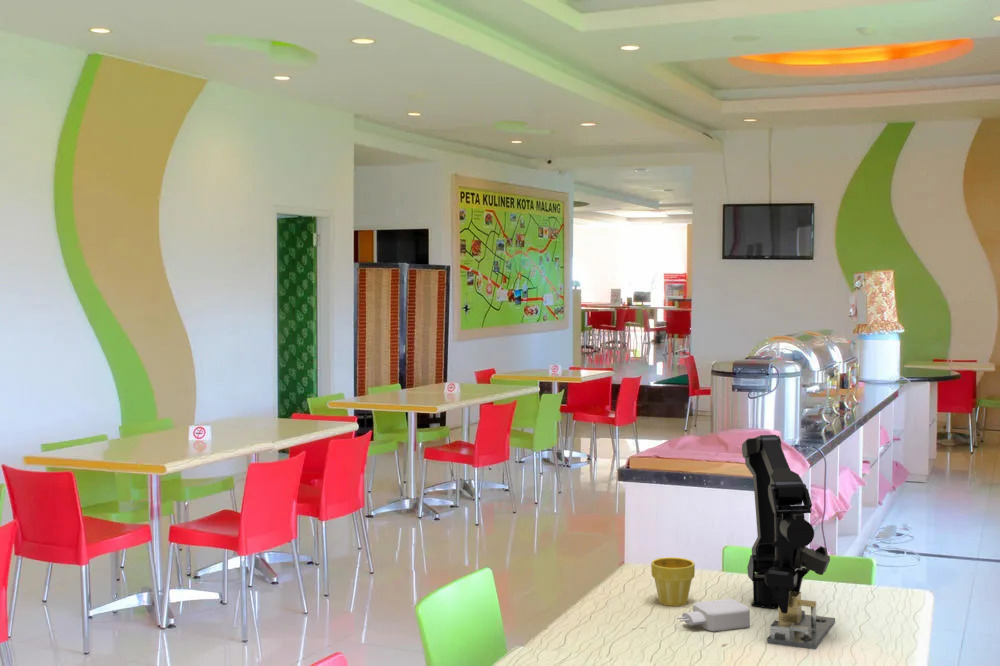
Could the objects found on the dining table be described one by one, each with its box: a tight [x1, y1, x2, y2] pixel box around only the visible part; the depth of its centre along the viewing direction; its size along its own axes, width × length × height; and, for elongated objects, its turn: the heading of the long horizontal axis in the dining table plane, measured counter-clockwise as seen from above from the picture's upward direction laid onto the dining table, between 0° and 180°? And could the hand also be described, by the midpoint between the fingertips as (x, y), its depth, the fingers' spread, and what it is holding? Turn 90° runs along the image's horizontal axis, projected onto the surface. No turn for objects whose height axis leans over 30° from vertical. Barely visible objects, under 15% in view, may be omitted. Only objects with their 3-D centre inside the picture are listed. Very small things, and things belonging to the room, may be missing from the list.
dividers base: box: [766, 609, 836, 650], centre depth 229 cm, size 10×20×4 cm, turn 151°
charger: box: [676, 598, 751, 633], centre depth 236 cm, size 5×9×15 cm
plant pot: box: [650, 556, 696, 607], centre depth 255 cm, size 10×10×10 cm
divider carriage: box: [778, 591, 817, 629], centre depth 230 cm, size 8×4×7 cm, turn 61°
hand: (789, 607), depth 231 cm, fingers open, 9 cm apart
